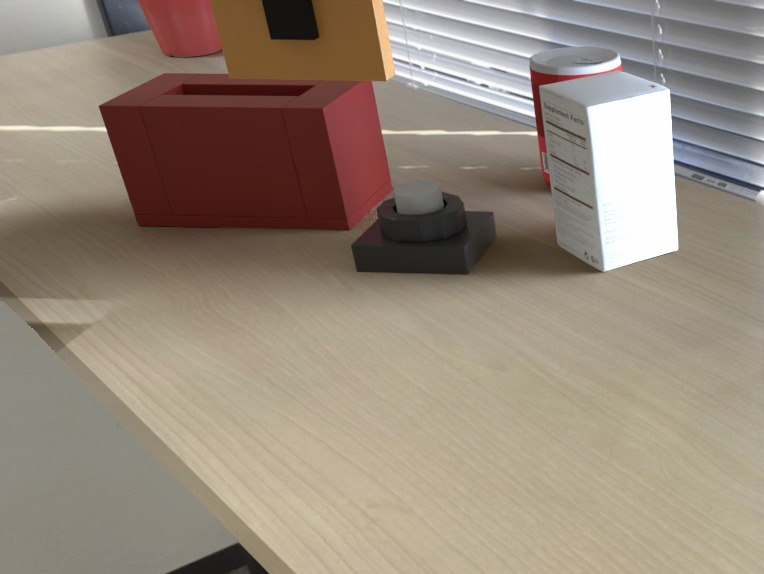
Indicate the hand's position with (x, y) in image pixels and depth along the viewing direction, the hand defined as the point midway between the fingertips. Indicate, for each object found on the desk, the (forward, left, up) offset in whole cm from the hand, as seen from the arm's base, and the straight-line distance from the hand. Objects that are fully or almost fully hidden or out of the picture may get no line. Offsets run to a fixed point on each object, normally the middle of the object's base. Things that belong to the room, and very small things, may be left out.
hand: (303, 33), depth 69 cm
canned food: (+8, +33, -20) cm, 39 cm away
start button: (-1, +15, -16) cm, 22 cm away
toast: (0, 0, -2) cm, 2 cm away
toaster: (-19, +25, -20) cm, 37 cm away
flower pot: (-56, +83, -20) cm, 102 cm away
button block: (-1, +15, -20) cm, 25 cm away
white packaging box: (+14, +17, -20) cm, 30 cm away
